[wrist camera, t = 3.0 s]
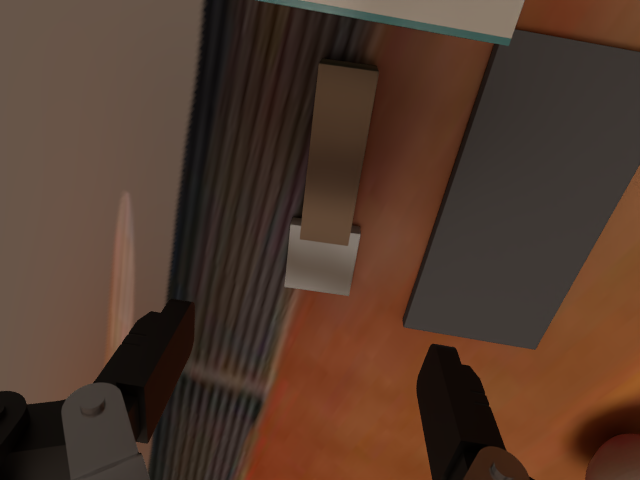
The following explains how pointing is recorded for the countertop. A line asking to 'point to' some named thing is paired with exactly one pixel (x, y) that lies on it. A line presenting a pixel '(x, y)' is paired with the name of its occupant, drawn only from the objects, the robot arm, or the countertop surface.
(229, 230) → the countertop surface
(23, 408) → the robot arm
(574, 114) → the mat
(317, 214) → the tan two-tone long part
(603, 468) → the decorative fruit
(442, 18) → the tile
